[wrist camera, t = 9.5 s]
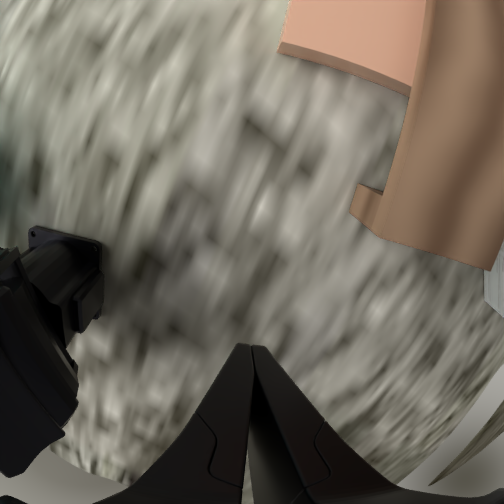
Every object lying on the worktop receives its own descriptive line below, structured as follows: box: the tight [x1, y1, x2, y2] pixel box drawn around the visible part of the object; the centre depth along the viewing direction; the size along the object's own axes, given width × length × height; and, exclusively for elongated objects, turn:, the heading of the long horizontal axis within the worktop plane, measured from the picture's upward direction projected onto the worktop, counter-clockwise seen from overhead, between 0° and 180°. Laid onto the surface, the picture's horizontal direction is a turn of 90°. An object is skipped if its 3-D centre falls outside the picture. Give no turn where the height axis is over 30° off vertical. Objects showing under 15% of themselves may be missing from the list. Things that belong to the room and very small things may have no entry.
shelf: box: [349, 0, 504, 272], centre depth 14 cm, size 10×20×5 cm, turn 166°
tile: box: [277, 0, 426, 97], centre depth 14 cm, size 15×8×3 cm, turn 78°
